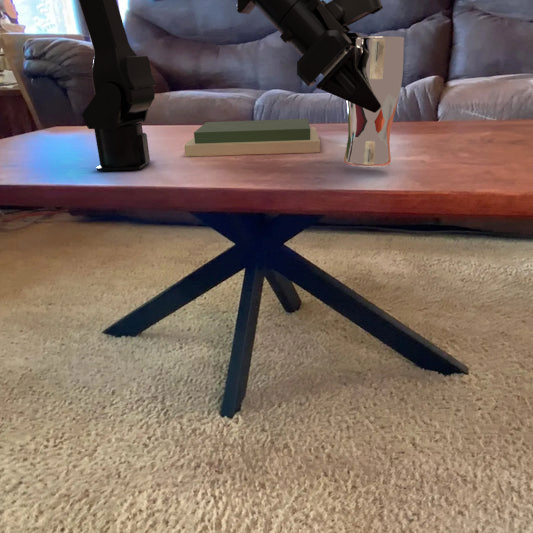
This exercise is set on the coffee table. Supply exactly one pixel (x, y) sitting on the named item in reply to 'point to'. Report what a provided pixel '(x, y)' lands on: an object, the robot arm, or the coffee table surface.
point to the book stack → (253, 138)
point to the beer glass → (386, 91)
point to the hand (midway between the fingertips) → (380, 106)
